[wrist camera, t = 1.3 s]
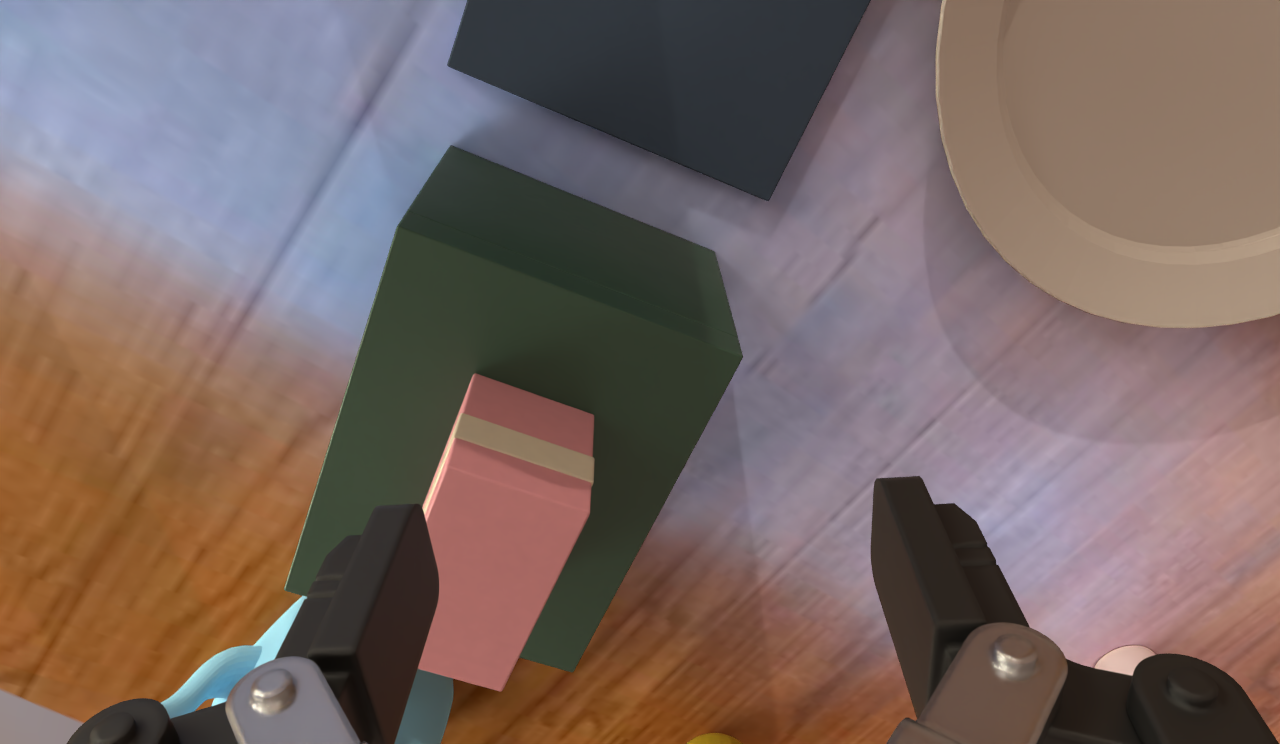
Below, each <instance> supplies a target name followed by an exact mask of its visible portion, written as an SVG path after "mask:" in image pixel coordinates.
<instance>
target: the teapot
mask: <svg viewBox="0 0 1280 744" xmlns="http://www.w3.org/2000/svg"><path fill="white" fill-rule="evenodd" d="M304 599H307V597H306V596H302V597H301V598H300V599H299V600H298V601H296V602H295V603H294V604H293V605H292V606H291V607H290V608H289V609H288V610H287V611H286V612H285V613H284V614H283V615H282V616H281V617H280V618H279V619H278V620H277V621H276V622H275V623H274V624H273V625H272V626H271V627H270V628H269V629H268V630H267V631H266V632H265V633H264V634H263V636H262V637H261V638H260V639H259V640H258V641H257V642H256V643H255V644H254V645H253V646H247V645H243V646H238V647H232V648H229V649H227V650H225V651H223V652H220V653H218V654H216V655H215V656H213V657H212V658H211V659H209V660H208V661H207V662H205V663H204V664H203V665H202V666H201V667H200V668H199V669H198V670H197V671H196V672H195V673H194V674H193V675H192V676H191V677H190V678H189V679H188V680H187V682H186V683H185V684H184V685H183V686H182V687H181V688H180V689H179V690H178V691H177V692H176V693H175V694H174V695H172V696H171V697H170V698H168V699H166V700H165V701H163V702H161V704H162V705H163V706H164V707H165V708H166V710H167V712H168V714H169V717H170V719H171V718H174V717H178V716H181V715H184V714H188V713H191V712H194V711H195V710H196V709H197V708H198V707H199V706H200V705H201V704H202V703H203V702H204V701H205V700H207V699H211V698H215V699H214V701H213V703H212V706H215V705H217V704H220V703H223V702H226V701H227V698H228V696H229V693H230V691H231V690H232V689H233V687H234V686H235V685H236V683H237V682H238V681H239V680H240V679H241V678H242V677H244V676H245V675H246V674H247V673H249V672H250V671H251V670H253V669H254V668H256V667H258V666H260V665H262V664H264V663H266V662H268V661H271V660H274V659H275V657H276V655H277V653H278V651H279V649H280V647H281V645H282V643H283V641H284V639H285V637H286V635H287V633H288V631H289V629H290V627H291V625H292V623H293V621H294V619H295V617H296V615H297V613H298V611H299V609H300V607H301V605H302V603H303V601H304ZM453 694H454V689H453V678H449V677H446V676H442V675H439V674H435V673H431V672H428V671H424V670H420V669H417V672H416V675H415V679H414V682H413V685H412V688H411V692H410V695H409V698H408V701H407V705H406V708H405V711H404V714H403V717H402V721H401V724H400V727H399V730H398V734H397V737H396V740H395V743H394V744H441V741H442V738H443V735H444V732H445V728H446V725H447V721H448V718H449V714H450V710H451V706H452V701H453Z"/></svg>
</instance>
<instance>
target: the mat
mask: <svg viewBox="0 0 1280 744" xmlns="http://www.w3.org/2000/svg"><path fill="white" fill-rule="evenodd" d="M870 1H871V0H467V3H466V7H465V10H464V13H463V16H462V19H461V23H460V26H459V29H458V32H457V36H456V39H455V42H454V45H453V48H452V52H451V55H450V58H449V61H448V67H451V68H453V69H455V70H458V71H460V72H463V73H465V74H467V75H470V76H472V77H474V78H477V79H479V80H482V81H484V82H486V83H489V84H491V85H493V86H496V87H498V88H500V89H503V90H505V91H508V92H510V93H512V94H515V95H517V96H519V97H522V98H524V99H527V100H529V101H531V102H534V103H536V104H538V105H541V106H543V107H546V108H548V109H550V110H553V111H555V112H557V113H560V114H562V115H565V116H567V117H569V118H572V119H574V120H576V121H579V122H581V123H584V124H586V125H588V126H591V127H593V128H595V129H598V130H600V131H603V132H605V133H607V134H610V135H612V136H614V137H617V138H619V139H621V140H624V141H626V142H629V143H631V144H633V145H636V146H638V147H640V148H643V149H645V150H648V151H650V152H652V153H655V154H657V155H659V156H662V157H664V158H667V159H669V160H671V161H674V162H676V163H678V164H681V165H683V166H686V167H688V168H690V169H693V170H695V171H697V172H700V173H702V174H705V175H707V176H709V177H712V178H714V179H716V180H719V181H721V182H724V183H726V184H728V185H731V186H733V187H735V188H738V189H740V190H743V191H745V192H747V193H750V194H752V195H754V196H757V197H759V198H761V199H764V200H766V201H769V200H770V198H771V196H772V194H773V192H774V190H775V188H776V186H777V184H778V182H779V180H780V178H781V176H782V174H783V172H784V170H785V168H786V166H787V164H788V162H789V160H790V158H791V156H792V154H793V152H794V150H795V148H796V146H797V144H798V142H799V140H800V138H801V136H802V135H803V133H804V131H805V129H806V127H807V125H808V123H809V121H810V119H811V117H812V115H813V113H814V111H815V109H816V107H817V105H818V103H819V101H820V99H821V97H822V95H823V93H824V91H825V89H826V87H827V85H828V83H829V81H830V79H831V77H832V75H833V73H834V71H835V70H836V68H837V66H838V64H839V62H840V60H841V58H842V56H843V54H844V52H845V50H846V48H847V46H848V44H849V42H850V40H851V38H852V36H853V34H854V32H855V30H856V28H857V26H858V24H859V22H860V20H861V18H862V16H863V14H864V12H865V10H866V8H867V7H868V5H869V3H870Z"/></svg>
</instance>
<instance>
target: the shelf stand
mask: <svg viewBox="0 0 1280 744" xmlns="http://www.w3.org/2000/svg"><path fill="white" fill-rule="evenodd" d="M742 358H743V355H742V351H741V347H740V343H739V340H738V336H737V332H736V328H735V324H734V321H733V317H732V313H731V310H730V306H729V302H728V299H727V295H726V291H725V287H724V284H723V280H722V276H721V273H720V269H719V265H718V261H717V258H716V254H715V252H714V251H712V250H710V249H707V248H705V247H702V246H700V245H697V244H695V243H692V242H690V241H687V240H685V239H682V238H680V237H677V236H675V235H672V234H670V233H667V232H665V231H663V230H660V229H658V228H655V227H653V226H650V225H648V224H645V223H643V222H640V221H638V220H635V219H633V218H630V217H628V216H625V215H623V214H620V213H618V212H615V211H613V210H610V209H608V208H605V207H603V206H600V205H598V204H595V203H593V202H591V201H588V200H586V199H583V198H581V197H578V196H576V195H573V194H571V193H568V192H566V191H563V190H561V189H558V188H556V187H553V186H551V185H548V184H546V183H543V182H541V181H538V180H536V179H533V178H531V177H528V176H526V175H523V174H521V173H519V172H516V171H514V170H511V169H509V168H506V167H504V166H501V165H499V164H496V163H494V162H491V161H489V160H486V159H484V158H481V157H479V156H476V155H474V154H471V153H469V152H466V151H464V150H461V149H459V148H456V147H454V146H450V147H449V148H448V150H447V151H446V153H445V154H444V156H443V157H442V159H441V160H440V162H439V163H438V165H437V166H436V168H435V170H434V171H433V173H432V174H431V176H430V177H429V179H428V180H427V182H426V183H425V185H424V186H423V188H422V189H421V191H420V192H419V194H418V195H417V197H416V198H415V200H414V201H413V203H412V204H411V206H410V207H409V209H408V211H407V212H406V214H405V215H404V217H403V218H402V220H401V221H400V223H399V224H398V226H397V228H396V231H395V234H394V238H393V241H392V244H391V247H390V251H389V254H388V257H387V260H386V263H385V267H384V270H383V273H382V276H381V279H380V283H379V286H378V289H377V292H376V296H375V299H374V302H373V305H372V308H371V312H370V315H369V318H368V321H367V324H366V328H365V331H364V334H363V337H362V340H361V344H360V347H359V350H358V353H357V357H356V360H355V363H354V366H353V369H352V373H351V376H350V379H349V382H348V385H347V389H346V392H345V395H344V398H343V402H342V405H341V408H340V411H339V414H338V418H337V421H336V424H335V427H334V430H333V434H332V437H331V440H330V443H329V446H328V450H327V453H326V456H325V459H324V463H323V466H322V469H321V472H320V475H319V479H318V482H317V485H316V488H315V491H314V495H313V498H312V501H311V504H310V507H309V511H308V514H307V517H306V520H305V524H304V527H303V530H302V533H301V536H300V540H299V543H298V546H297V549H296V552H295V556H294V559H293V562H292V565H291V569H290V572H289V575H288V578H287V581H286V585H285V588H284V590H285V591H288V592H292V593H295V594H299V595H302V596H306V597H307V593H308V591H309V589H310V587H311V585H312V583H313V581H316V575H317V573H318V571H319V569H320V567H321V565H322V563H323V561H324V559H325V557H326V555H327V554H328V553H330V552H331V551H332V550H333V549H334V548H335V547H336V546H337V545H338V544H339V543H340V542H341V541H342V540H343V539H344V538H345V537H347V536H350V535H362V533H363V531H364V529H365V527H366V525H367V522H368V520H369V518H370V516H371V514H372V512H373V510H374V508H375V507H376V506H383V505H400V504H420V505H421V507H423V504H424V501H425V499H426V496H427V494H428V491H429V488H430V486H431V483H432V481H433V478H434V475H435V473H436V470H437V468H438V465H439V462H440V460H441V457H442V454H443V452H444V449H445V447H446V444H447V441H448V439H449V436H450V434H451V431H452V428H453V426H454V423H455V421H456V418H457V415H458V413H459V410H460V408H461V405H462V402H463V400H464V397H465V395H466V392H467V389H468V387H469V384H470V382H471V379H472V376H473V375H474V374H479V375H482V376H485V377H488V378H490V379H493V380H496V381H499V382H502V383H505V384H508V385H510V386H513V387H516V388H519V389H522V390H525V391H527V392H530V393H533V394H536V395H539V396H542V397H545V398H547V399H550V400H553V401H556V402H559V403H562V404H565V405H567V406H570V407H573V408H576V409H579V410H582V411H585V412H587V413H590V414H593V415H594V436H593V458H594V459H595V461H594V483H593V485H592V487H591V504H590V515H589V517H588V519H587V521H586V523H585V525H584V527H583V529H582V531H581V533H580V535H579V537H578V539H577V541H576V543H575V545H574V547H573V549H572V551H571V553H570V555H569V557H568V559H567V561H566V563H565V565H564V567H563V569H562V571H561V573H560V575H559V577H558V579H557V581H556V583H555V586H554V588H553V590H552V592H551V594H550V596H549V598H548V600H547V602H546V604H545V606H544V608H543V610H542V612H541V614H540V616H539V618H538V620H537V622H536V624H535V626H534V628H533V630H532V632H531V634H530V636H529V638H528V640H527V642H526V644H525V646H524V648H523V650H522V652H521V654H520V656H519V657H520V658H523V659H527V660H530V661H534V662H537V663H541V664H544V665H548V666H551V667H555V668H558V669H562V670H565V671H569V672H574V670H575V668H576V666H577V664H578V662H579V661H580V659H581V657H582V655H583V653H584V651H585V649H586V648H587V646H588V644H589V642H590V640H591V638H592V636H593V635H594V633H595V631H596V629H597V627H598V625H599V623H600V622H601V620H602V618H603V616H604V614H605V612H606V610H607V609H608V607H609V605H610V603H611V601H612V599H613V597H614V596H615V594H616V592H617V590H618V588H619V586H620V585H621V583H622V581H623V579H624V577H625V575H626V573H627V572H628V570H629V568H630V566H631V564H632V562H633V560H634V559H635V557H636V555H637V553H638V551H639V549H640V547H641V546H642V544H643V542H644V540H645V538H646V536H647V534H648V533H649V531H650V529H651V527H652V525H653V523H654V521H655V520H656V518H657V516H658V514H659V512H660V510H661V509H662V507H663V505H664V503H665V501H666V499H667V497H668V496H669V494H670V492H671V490H672V488H673V486H674V484H675V483H676V481H677V479H678V477H679V475H680V473H681V471H682V470H683V468H684V466H685V464H686V462H687V460H688V458H689V457H690V455H691V453H692V451H693V449H694V447H695V445H696V444H697V442H698V440H699V438H700V436H701V434H702V432H703V431H704V429H705V427H706V425H707V423H708V421H709V420H710V418H711V416H712V414H713V412H714V410H715V408H716V407H717V405H718V403H719V401H720V399H721V397H722V395H723V394H724V392H725V390H726V388H727V386H728V384H729V382H730V381H731V379H732V377H733V375H734V373H735V371H736V369H737V368H738V366H739V364H740V362H741V360H742Z"/></svg>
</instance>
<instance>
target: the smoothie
mask: <svg viewBox="0 0 1280 744" xmlns="http://www.w3.org/2000/svg"><path fill="white" fill-rule="evenodd" d="M1153 655H1156V654H1155V653H1154V652H1153V651H1152V650H1150V649H1148V648H1146V647H1143V646H1136V645H1133V646H1125V647H1121V648H1117V649H1115V650H1113V651H1111V652H1109V653H1107V654H1106V655H1104V656H1103V657H1102V658H1101V659H1100V660H1099V661H1098V662H1097V664H1096V665H1095V667H1094V668H1096V669H1101V670H1106V671H1111V672H1116V673H1121V674H1126V675H1131V676H1133V672H1134V670H1135V667H1136V666H1137V665H1138V664H1139V662H1141V661H1142V660H1144V659H1145V658H1147V657H1150V656H1153Z"/></svg>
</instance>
